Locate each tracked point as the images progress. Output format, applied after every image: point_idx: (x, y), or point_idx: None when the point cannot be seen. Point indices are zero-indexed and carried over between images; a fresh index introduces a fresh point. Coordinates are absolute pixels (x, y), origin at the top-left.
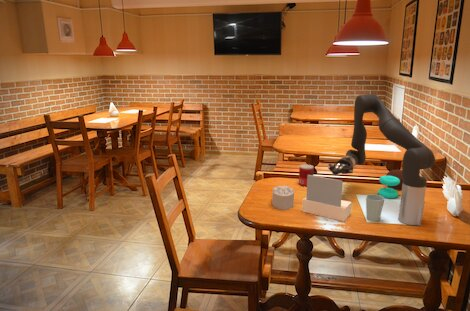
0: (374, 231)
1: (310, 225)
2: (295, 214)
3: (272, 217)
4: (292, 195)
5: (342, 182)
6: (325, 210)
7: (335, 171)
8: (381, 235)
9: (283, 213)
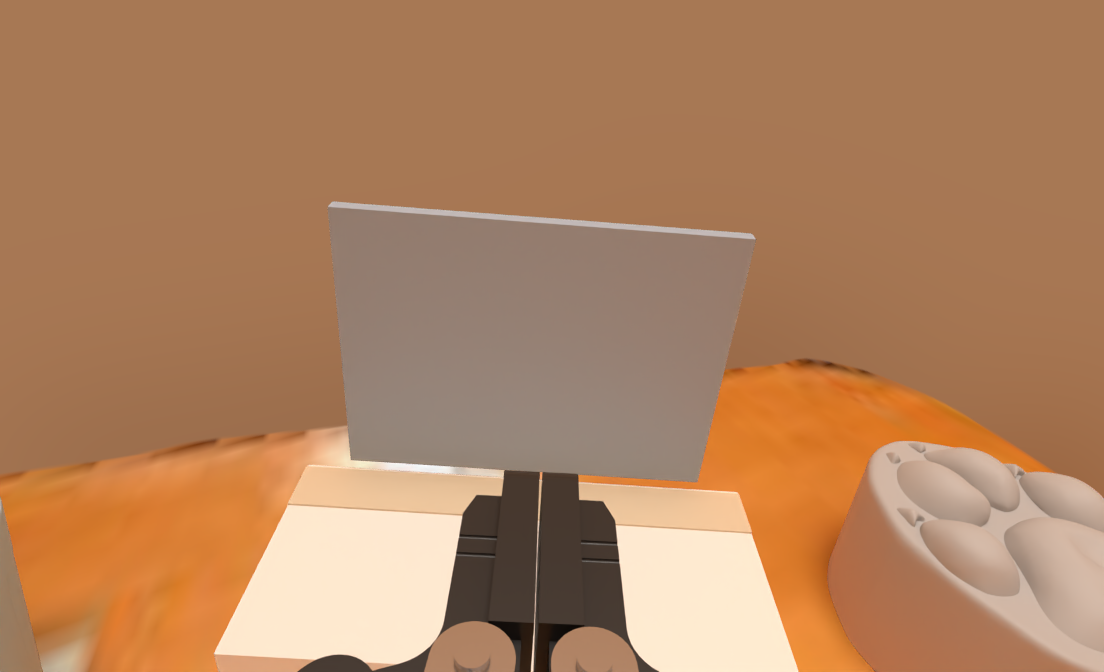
0: (75, 506)
1: None
2: None
3: (788, 426)
4: (876, 522)
5: (331, 221)
6: None
7: (519, 473)
8: (40, 475)
9: (788, 492)
